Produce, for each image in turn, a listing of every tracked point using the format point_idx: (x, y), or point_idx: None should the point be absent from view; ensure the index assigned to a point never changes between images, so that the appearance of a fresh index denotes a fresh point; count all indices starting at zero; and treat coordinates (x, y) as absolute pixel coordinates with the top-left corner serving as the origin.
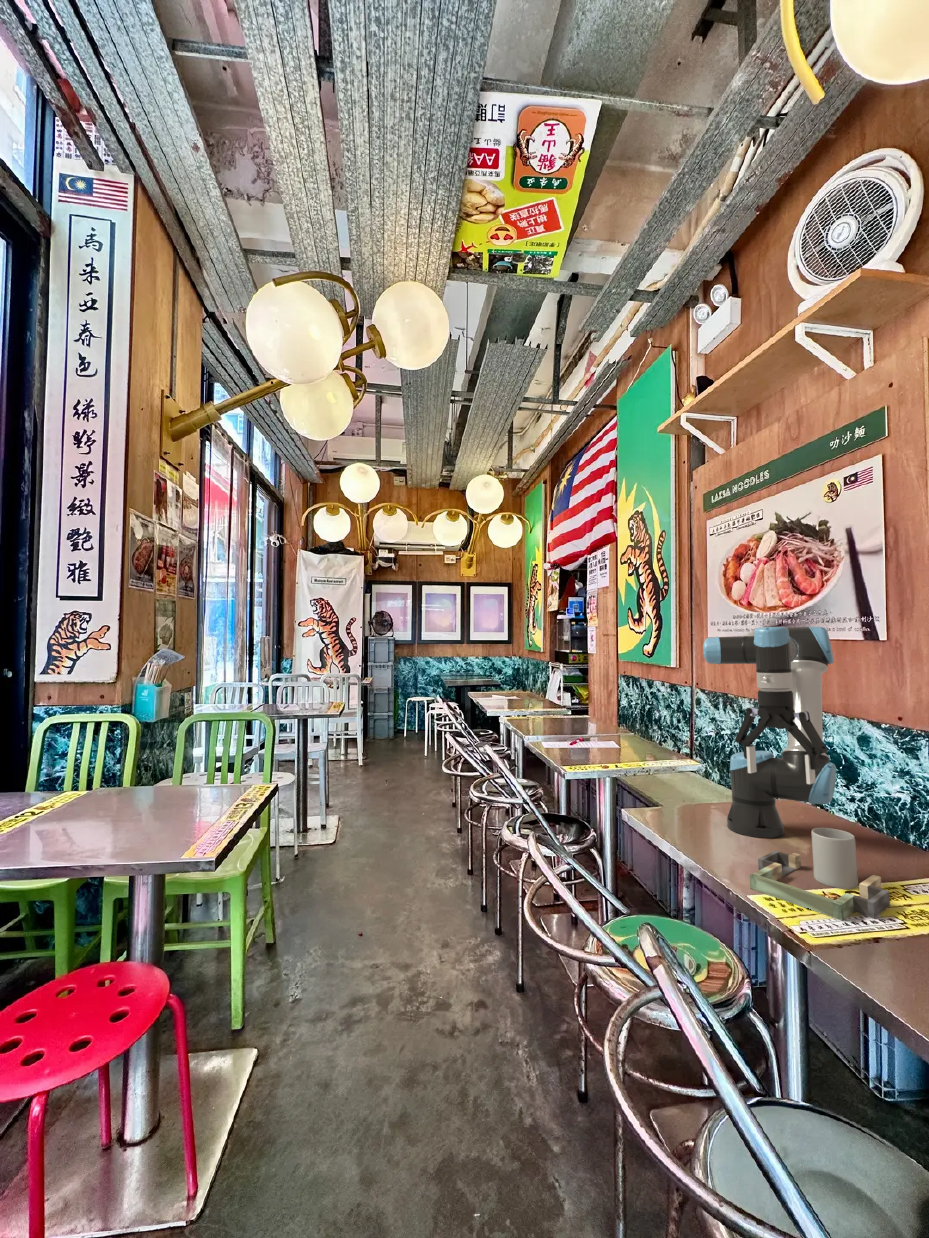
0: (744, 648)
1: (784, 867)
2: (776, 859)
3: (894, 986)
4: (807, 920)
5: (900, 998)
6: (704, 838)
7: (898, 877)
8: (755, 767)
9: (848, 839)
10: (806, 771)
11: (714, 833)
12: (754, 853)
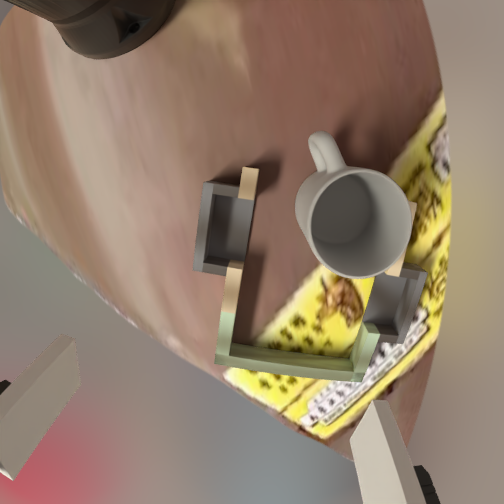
0: None
1: (234, 206)
2: (213, 200)
3: None
4: (315, 396)
5: None
6: (56, 147)
7: (419, 104)
8: (63, 359)
9: (401, 255)
10: (362, 485)
11: (60, 99)
12: (156, 156)
